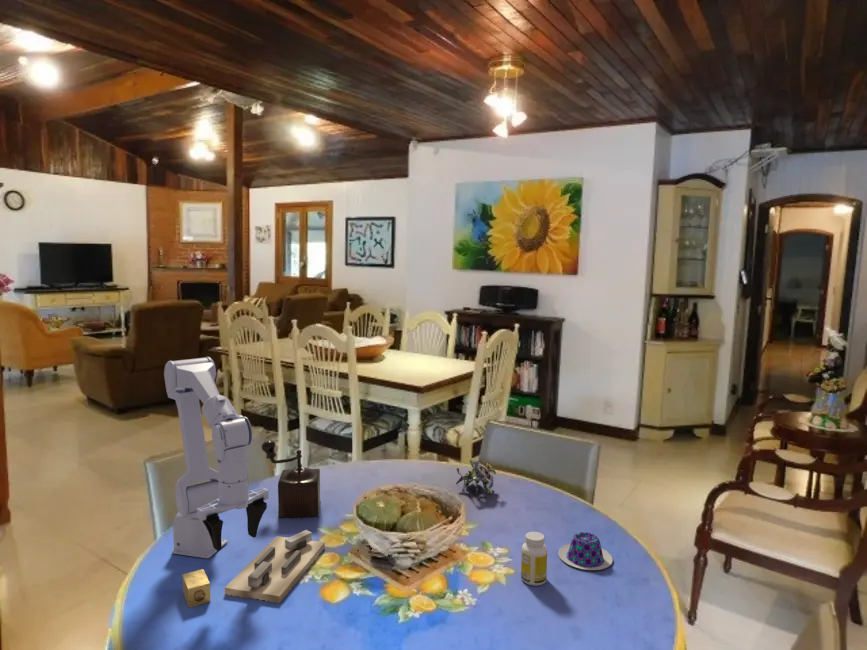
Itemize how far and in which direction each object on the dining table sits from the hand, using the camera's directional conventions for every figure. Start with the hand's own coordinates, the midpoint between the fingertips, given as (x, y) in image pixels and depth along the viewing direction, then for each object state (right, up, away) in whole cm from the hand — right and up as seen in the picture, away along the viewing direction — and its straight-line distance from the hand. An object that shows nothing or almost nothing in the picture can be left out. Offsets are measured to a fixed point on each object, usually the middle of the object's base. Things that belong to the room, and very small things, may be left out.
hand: (235, 542), depth 120 cm
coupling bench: (+7, -9, +7) cm, 13 cm away
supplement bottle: (+62, -10, +5) cm, 63 cm away
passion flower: (+53, -4, +50) cm, 73 cm away
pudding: (+75, -10, +15) cm, 77 cm away
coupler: (-7, -10, -3) cm, 12 cm away
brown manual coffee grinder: (+2, -5, +37) cm, 37 cm away
